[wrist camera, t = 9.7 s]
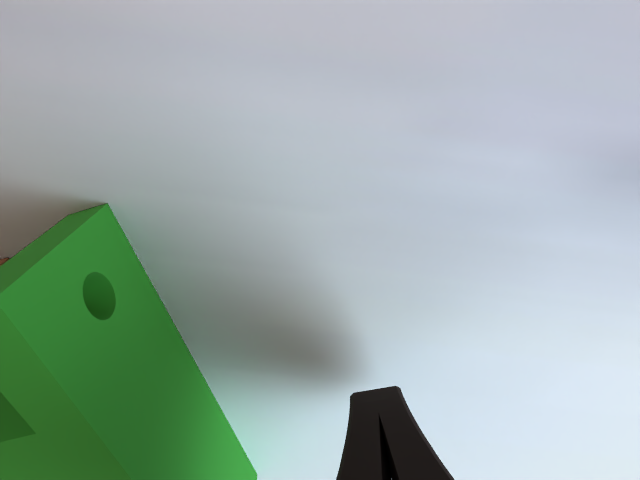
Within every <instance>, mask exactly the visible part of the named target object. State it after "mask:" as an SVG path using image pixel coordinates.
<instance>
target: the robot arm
mask: <svg viewBox="0 0 640 480" xmlns="http://www.w3.org/2000/svg"><path fill="white" fill-rule="evenodd" d="M391 478H392V480H454V478H453V477H452V476H451V474H450V473H449V472H448V470H447V469H446V467H445V466H444V465H443V463H442V462H441V460H440V459H439V457H438V456H437V454H436V453H435V451H434V450H433V448H432V447H431V445H430V444H429V442H428V441H427V439H426V438H425V436H424V434H423V433H422V431H421V429H420V428H419V426H418V424H417V422H416V421H415V419H414V417H413V415H412V413H411V412H410V410H409V408H408V406H407V404H406V401H405V399H404V397H403V394H402V392H401V389H400V388H399V387H397V386H392V387H386V388H380V389H374V390H368V391H362V392H356V393H353V394H352V395H351V396H350V413H349V421H348V428H347V434H346V440H345V445H344V449H343V454H342V459H341V463H340V468H339V471H338V475H337V479H336V480H391Z"/></svg>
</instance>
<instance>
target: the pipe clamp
mask: <svg viewBox="0 0 640 480" xmlns="http://www.w3.org/2000/svg"><path fill="white" fill-rule="evenodd" d="M0 480H257V473H256V471H255V470H254V468H253V466H252V464H251V462H250V461H249V459H248V457H247V455H246V453H245V452H244V450H243V448H242V446H241V444H240V442H239V441H238V439H237V437H236V435H235V433H234V432H233V430H232V428H231V426H230V424H229V423H228V421H227V419H226V417H225V415H224V413H223V412H222V410H221V408H220V406H219V404H218V403H217V401H216V399H215V397H214V395H213V394H212V392H211V390H210V388H209V386H208V384H207V383H206V381H205V379H204V377H203V375H202V374H201V372H200V370H199V368H198V366H197V365H196V363H195V361H194V359H193V357H192V355H191V354H190V352H189V350H188V348H187V346H186V345H185V343H184V341H183V339H182V337H181V336H180V334H179V332H178V330H177V328H176V326H175V325H174V323H173V321H172V319H171V317H170V316H169V314H168V312H167V310H166V308H165V307H164V305H163V303H162V301H161V299H160V297H159V296H158V294H157V292H156V290H155V288H154V287H153V285H152V283H151V281H150V279H149V278H148V276H147V274H146V272H145V270H144V268H143V267H142V265H141V263H140V261H139V259H138V258H137V256H136V254H135V252H134V250H133V249H132V247H131V245H130V243H129V241H128V239H127V238H126V236H125V234H124V232H123V230H122V229H121V227H120V225H119V223H118V221H117V220H116V218H115V216H114V214H113V212H112V210H111V209H110V207H109V205H108V203H107V204H103V205H100V206H97V207H93V208H90V209H87V210H83V211H80V212H77V213H73V214H70V215H68V216H66V217H65V218H64V219H62V220H61V221H60V222H58V223H57V224H56V225H54V226H53V227H52V228H50V229H49V230H48V231H46V232H45V233H44V234H43V235H41V236H40V237H39V238H37V239H36V240H35V241H33V242H32V243H31V244H29V245H28V246H27V247H25V248H24V249H23V250H21V251H20V252H19V253H17V254H16V255H15V256H13V257H12V258H11V259H9V260H8V261H7V262H5V263H4V264H3V265H1V266H0Z"/></svg>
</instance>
